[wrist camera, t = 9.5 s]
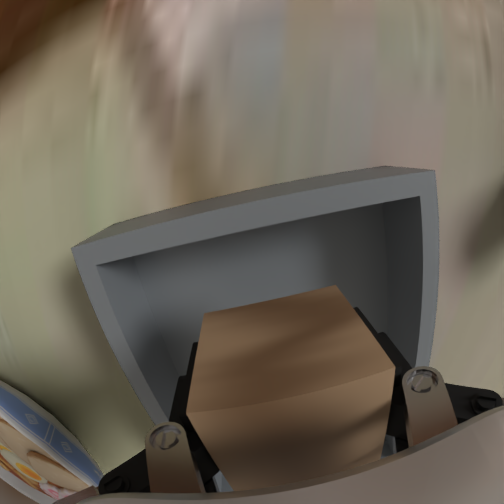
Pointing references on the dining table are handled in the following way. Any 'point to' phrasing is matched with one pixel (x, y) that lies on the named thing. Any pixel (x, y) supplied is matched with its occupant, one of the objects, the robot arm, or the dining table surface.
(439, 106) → the dining table surface
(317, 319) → the walnut cube
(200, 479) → the robot arm
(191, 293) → the tote
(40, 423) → the ramen bowl
